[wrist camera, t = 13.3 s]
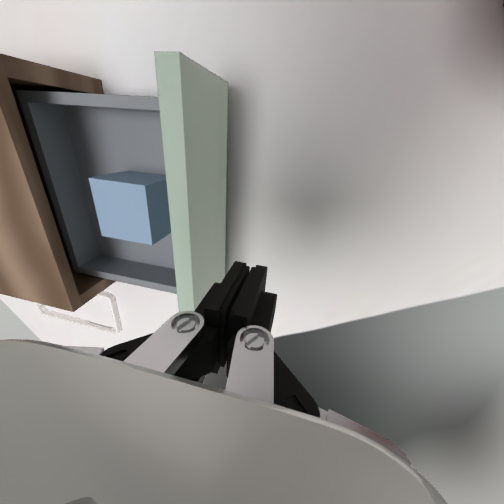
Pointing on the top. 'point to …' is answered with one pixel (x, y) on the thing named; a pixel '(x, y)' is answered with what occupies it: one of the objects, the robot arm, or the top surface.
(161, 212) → the blue block
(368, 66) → the top surface
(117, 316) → the phone case
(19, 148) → the cabinet
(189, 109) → the tray
